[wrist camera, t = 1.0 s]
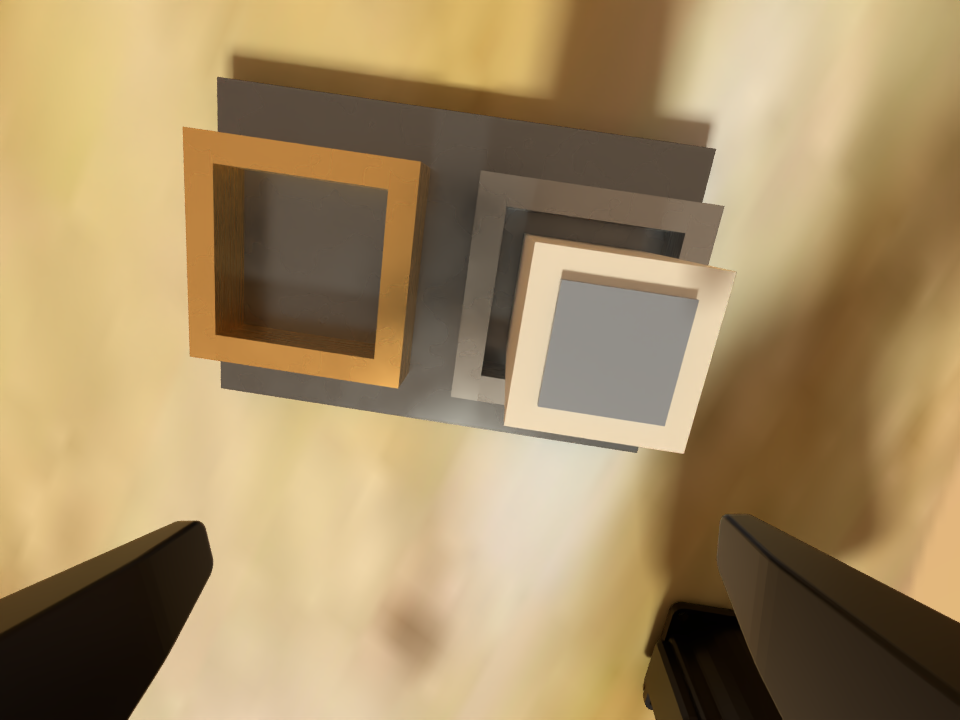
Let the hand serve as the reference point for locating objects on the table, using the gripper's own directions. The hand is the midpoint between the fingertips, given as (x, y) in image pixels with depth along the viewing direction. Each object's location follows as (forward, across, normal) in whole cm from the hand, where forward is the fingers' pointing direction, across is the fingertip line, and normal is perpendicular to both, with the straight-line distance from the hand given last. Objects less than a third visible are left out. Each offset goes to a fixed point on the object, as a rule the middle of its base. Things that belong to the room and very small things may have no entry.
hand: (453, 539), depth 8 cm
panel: (+13, +2, -3) cm, 13 cm away
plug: (+12, -3, -2) cm, 12 cm away
